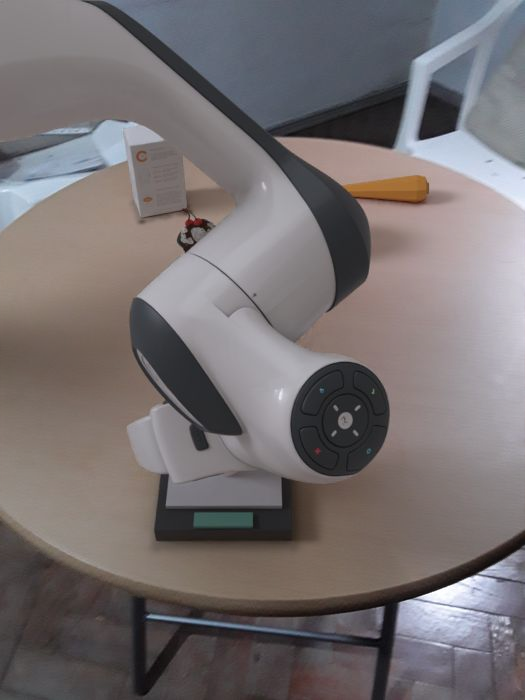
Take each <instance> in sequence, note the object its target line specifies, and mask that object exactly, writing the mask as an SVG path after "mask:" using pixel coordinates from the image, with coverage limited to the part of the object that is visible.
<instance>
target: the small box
mask: <svg viewBox="0 0 525 700" xmlns="http://www.w3.org/2000/svg"><path fill="white" fill-rule="evenodd" d="M122 134H123V140H124V147H125V153H126V160H127V167H128V172H129V178H130V184H131V185H130V186H131V193H132V197H133V201H134V204H135V206H136V208H137V211H138V213H139V217H140V218H146V217H153V216H159V215H162V214H167V213H168V214H169V213H172V212H173V213H175V212H179V211H182V208H184V209H185V208H187V209H188V202H187V190H186V188H187V187H186V178H185V169H184V168H185V167H184V159H183V157H184V156H183V155H182V154H181V153H179V152H178V151H177V150H176V149H175V148H173V147H172V146H171V145H170V144H169V143H167V142H166V141H165V140H164V139H163V138H161V137H160V136H159V135H158V134H156V133H155V132H153V131H152V130H150V129H148V128H147V127H145V126H143V125H140V124H139V125H134V126H127V127H123V128H122Z"/></svg>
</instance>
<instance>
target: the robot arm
mask: <svg viewBox="0 0 525 700" xmlns="http://www.w3.org/2000/svg"><path fill="white" fill-rule="evenodd" d="M109 120H111V121H113V120H115V121H126V122H130V123H134V124H138V125H139V126H140V125H143V126H145V127H147V128H148V129H150V130H152V131H153V132H155V133H156V134H158V135H159V136H160V137H161V138H163V139H164V140H165V141H166V142H167V143H169V144H170V145H171V146H172V147H173V148H175V149H176V150H177V151H178V152H179V153H181V154H182V157H184V158H185V159H186V160H188V161H189V162H190V163H191V164H193V166H195V168H197V169H198V170H200V171H201V172H202V173H203V174H204V175H206V176H207V177H208V178H209V179H211V181H213V182H214V183H215V184H216V185H218V186H219V188H221V189H222V190H224V191H225V192H226V193H227V194H228V195H229V196H231V198H232V199H233V200H234V203H235V206H234V208H233V209H232V210H231V211H230V212H229V213H228V214H227V215H226V216H225V217H224V218H223V219H222V220H220V222H218V223H217V224H216V225H215V227H214V228H213V229H212V230H211V231H210V232H209V233H207V234H206V235H205V236H204V237H203V238H202V239H201V240H200V241H199V242H197V243H196V244H195V245H194V246H193V247H192V248H191V249H190V250H188V251H187V252H186V253H185V252H184V253H183V254H181V255H180V256H179V257H177V258H176V260H175V261H173V262H172V263H170V264H169V266H168V267H166V268H165V269H164V270H163V271H162V272H161V273H160V274H159V275H158V276H157V277H155V278H154V279H153V280H152V281H151V282H149V284H148V285H147V286H145V288H143V290H141V292H139V293H138V294H137V296H135V297H133V298H132V299H131V300H132V301H131V304H130V308H129V315H128V316H129V317H128V318H129V319H128V320H129V321H128V324H129V337H130V345H131V351H132V354H133V356H134V359H135V360H136V363H137V364H138V366H139V368H140V370H141V371H142V373H143V374H144V376H145V377H146V378H147V380H148V381H149V382H150V384H151V385H152V387H153V388H154V389H155V390H156V391H157V392H158V393H159V395H160V396H161V397H162V398H163V399H164V401H163V402H162V403H159V404H156V405H153V406H152V407H151V408H150V409H149V414H147V415H145V416H142V417H141V418H138V419H136V420H134V421H132V422H130V423H129V424H128V425H127V426H126V434H127V437H128V440H129V444H130V447H131V450H132V453H133V455H134V458H135V461H136V462H137V464H138V465H139V466H140V467H141V468H143V469H144V470H146V471H148V472H151V473H152V474H155V475H161V474H169V476H170V478H171V480H172V482H173V483H175V484H183V483H187V482H190V481H197V480H200V479H204V478H208V477H212V476H216V475H220V474H224V473H228V472H237V471H253V470H258V469H263V470H266V471H268V472H270V473H272V474H275V475H277V476H280V477H283V478H287V479H290V481H295V482H300V483H305V484H306V483H307V484H314V485H326V484H334V483H339V482H343V481H345V480H348V479H350V478H352V477H354V476H356V475H358V474H359V473H362V471H363V470H365V469H366V468H367V467H368V466H369V465H370V464H371V463H372V462H373V461H374V459H375V458H376V457H377V455H378V454H379V452H380V451H381V449H382V448H383V446H384V443H385V441H386V440H387V439H386V438H387V435H388V433H389V427H390V423H391V404H390V397H389V394H388V391H387V388H386V386H385V384H384V382H383V380H382V379H381V377H380V376H379V375H378V374H377V372H375V370H373V369H372V368H371V367H370V366H368V365H367V364H365V363H364V362H362V361H360V360H358V359H356V358H352V357H350V356H347V355H343V354H338V353H333V352H326V351H325V352H324V351H314V350H311V349H308V348H306V347H304V346H302V345H300V344H298V343H297V342H298V341H299V340H300V339H301V338H302V337H303V336H304V335H306V333H307V332H309V330H310V329H311V328H312V327H313V326H314V325H315V324H316V323H317V322H318V321H319V320H320V319H321V318H322V317H323V316H324V315H325V314H327V313H329V312H331V311H332V310H333V309H335V307H337V306H338V305H340V304H341V303H342V302H343V301H344V300H345V299H347V298H348V297H349V296H350V295H351V294H353V293H354V292H355V291H356V290H357V289H359V288H360V287H362V285H364V283H365V282H366V281H367V279H368V277H369V273H370V266H371V256H372V238H371V237H372V236H371V229H370V227H371V226H370V224H369V223H370V222H369V218H368V216H367V214H366V211H365V210H364V208H363V207H362V205H361V204H360V202H359V201H358V200H357V199H356V197H353V196H352V195H351V194H350V193H349V192H348V191H347V190H346V189H345V188H344V187H343V186H342V185H341V184H340V183H339V182H338V181H337V180H336V179H334V178H332V177H331V176H330V175H327V174H326V173H325V172H323V171H321V170H320V169H318V168H317V167H316V166H314V165H313V164H311V163H309V162H308V161H306V160H304V159H303V158H301V157H299V156H298V155H297V154H295V153H294V152H293V151H291V150H290V149H288V148H287V147H286V146H284V145H283V144H282V143H281V142H280V141H278V139H276V138H275V137H274V136H273V135H272V134H270V132H268V131H267V130H266V129H265V128H264V127H262V126H261V125H260V124H258V122H257V121H256V120H254V119H253V118H252V117H250V116H249V115H248V113H246V112H245V111H244V110H243V109H241V108H240V107H239V106H238V105H237V104H235V102H234V101H233V100H231V99H230V98H229V97H228V96H226V95H225V93H223V92H222V91H221V90H220V89H218V88H217V86H215V85H214V84H213V83H212V82H211V81H209V79H207V78H206V77H205V76H203V74H201V73H200V72H199V71H198V70H197V69H195V68H194V67H193V66H192V65H191V64H190V63H189V62H187V61H186V60H185V59H184V58H183V57H181V56H180V54H178V53H177V52H175V51H174V50H173V49H172V48H171V47H169V46H168V45H167V44H166V43H165V42H164V41H162V40H161V39H160V38H159V37H158V36H156V35H155V34H154V33H153V32H151V31H150V30H149V29H148V28H146V27H145V26H143V25H142V24H141V23H139V22H138V21H137V20H136V19H134V18H133V17H132V16H130V15H129V14H127V13H126V12H124V11H123V10H122V9H120V8H119V7H117V6H115V5H114V4H111V3H110V2H107V1H106V0H105V1H104V0H0V143H4V142H5V143H6V142H14V141H19V140H24V139H29V138H33V137H36V136H39V135H43V134H45V133H49V132H52V131H56V130H59V129H63V128H66V127H71V126H74V125H80V124H83V123H84V124H85V123H89V122H99V121H109Z"/></svg>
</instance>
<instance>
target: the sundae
mask: <svg viewBox="0 0 525 700" xmlns="http://www.w3.org/2000/svg"><path fill="white" fill-rule="evenodd" d="M181 211H182V212H185V213H187V215H188V219H185V221H184V225H185V226H184V227H183V228H182V229H181V231H180V232H179V233H178V235H177V238H176V243H177V244H178V246H179V247H180V248H182V250H183V251H184V253H186V252H187V251H188V250H190V249H191V248H192V247H193V246H194V245H195V244H196V243H197V242H199V241H200V240H201V239H202V238H203V237H204V236H205V235H206V234H207V233H209V232H210V231H211V230H212V229H213V228H214V227H215V226H216V225H214V222H212V221H210V220H209V219H206V218H200V217H196V216H195V215H194V213H193V212H192V211H190V210H188V207H187V208H185V209H184V208H182V210H181ZM190 214H191V215H192V216H193V218H194V220H193V219H191V215H190Z"/></svg>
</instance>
